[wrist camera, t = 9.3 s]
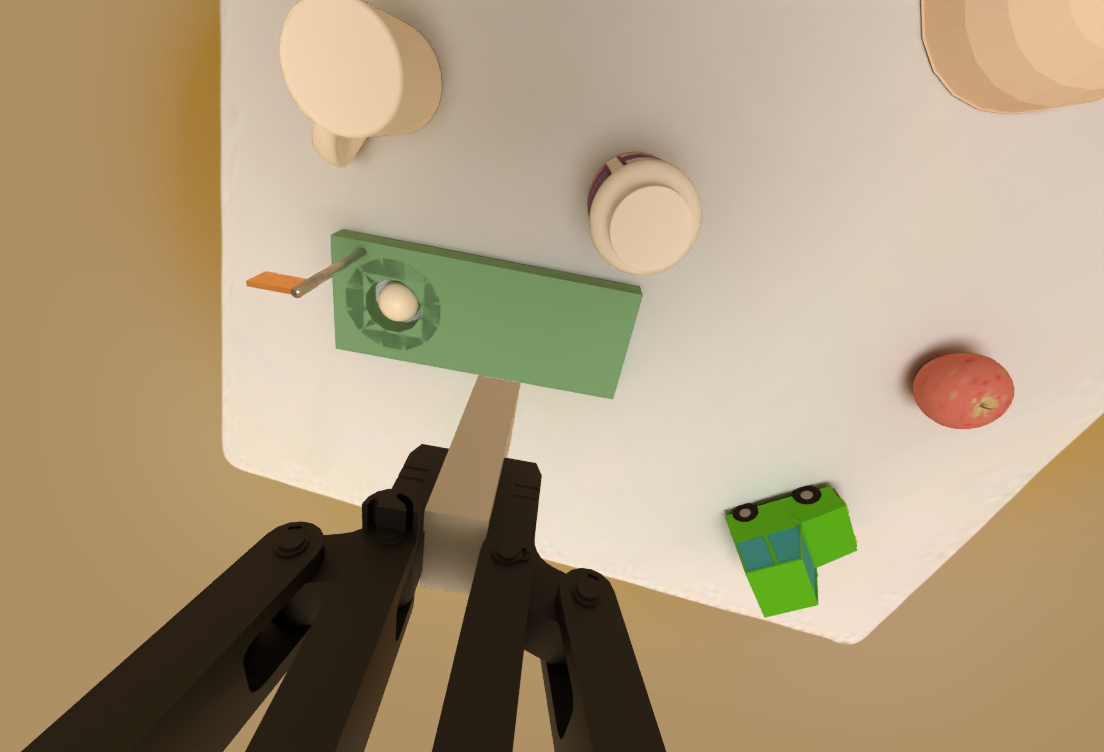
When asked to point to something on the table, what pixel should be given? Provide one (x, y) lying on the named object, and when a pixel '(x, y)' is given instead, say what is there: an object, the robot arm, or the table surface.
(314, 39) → the mug
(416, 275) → the putting mat
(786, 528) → the toy car
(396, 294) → the ball
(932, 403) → the apple
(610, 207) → the pill bottle
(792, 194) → the table surface
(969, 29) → the kettle
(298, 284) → the flag pin
